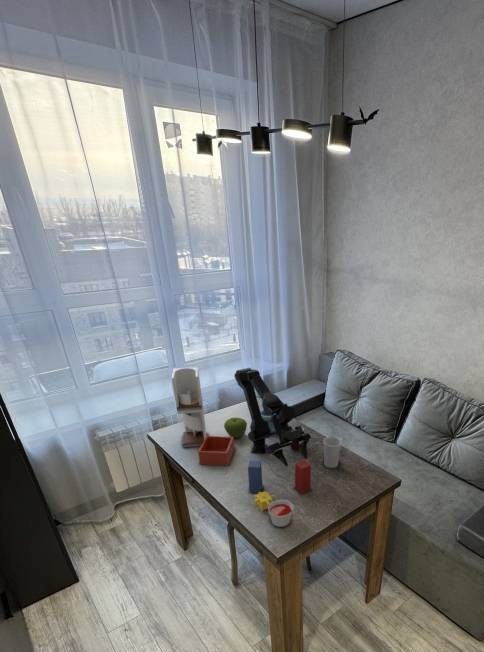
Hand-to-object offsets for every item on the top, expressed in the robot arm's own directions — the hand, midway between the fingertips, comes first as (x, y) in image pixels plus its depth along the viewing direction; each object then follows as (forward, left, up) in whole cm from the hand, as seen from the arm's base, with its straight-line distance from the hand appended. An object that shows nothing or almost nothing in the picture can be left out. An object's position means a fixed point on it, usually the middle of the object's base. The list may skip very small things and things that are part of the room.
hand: (297, 462), depth 161 cm
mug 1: (-43, -16, -11) cm, 47 cm away
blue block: (+4, -16, -11) cm, 20 cm away
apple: (-37, -32, -11) cm, 50 cm away
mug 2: (-28, -1, -11) cm, 30 cm away
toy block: (+14, -11, -11) cm, 21 cm away
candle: (+22, -4, -11) cm, 25 cm away
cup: (-16, +15, -11) cm, 24 cm away
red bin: (-19, -37, -11) cm, 43 cm away
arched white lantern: (-32, -51, -11) cm, 61 cm away
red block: (+3, +3, -11) cm, 12 cm away
